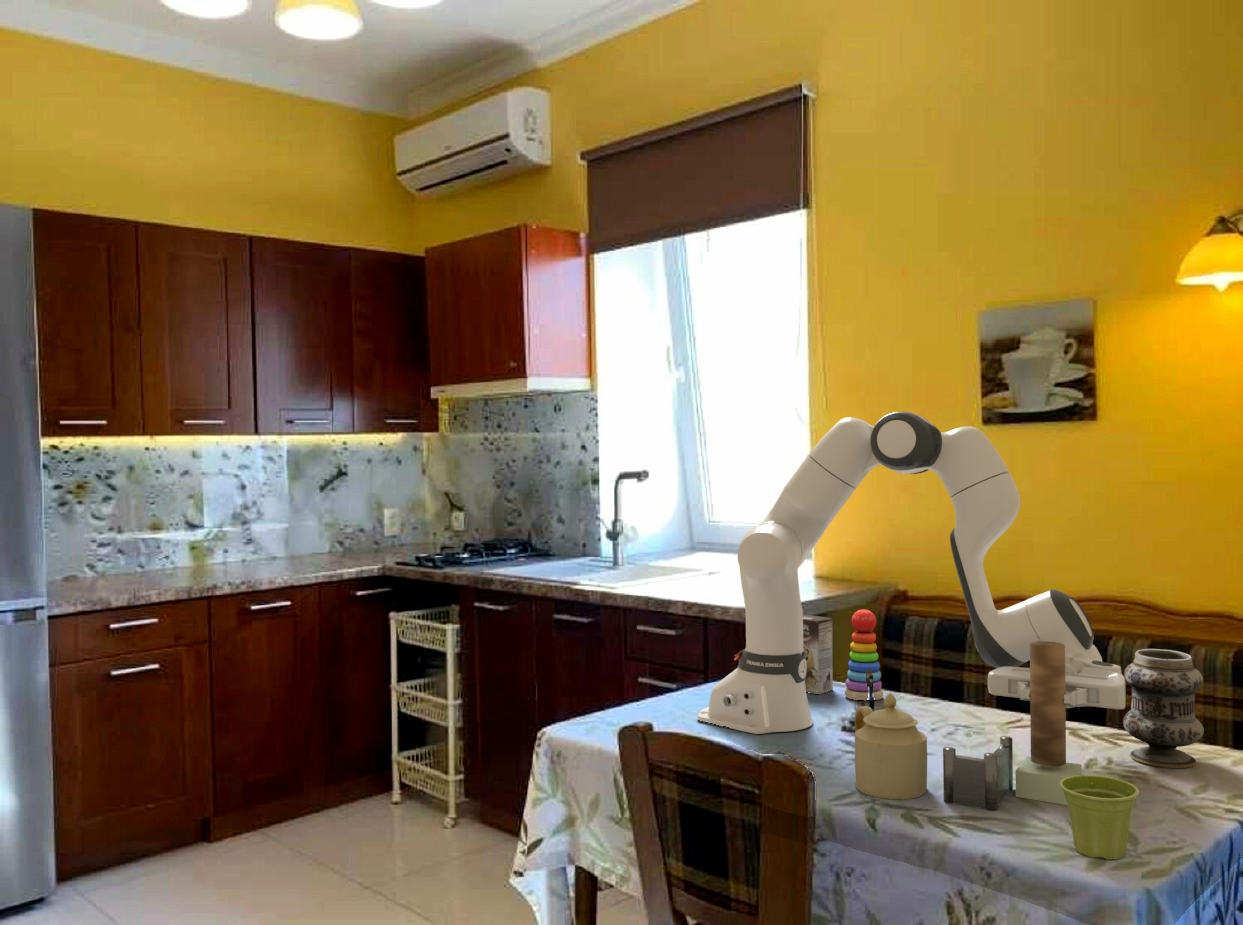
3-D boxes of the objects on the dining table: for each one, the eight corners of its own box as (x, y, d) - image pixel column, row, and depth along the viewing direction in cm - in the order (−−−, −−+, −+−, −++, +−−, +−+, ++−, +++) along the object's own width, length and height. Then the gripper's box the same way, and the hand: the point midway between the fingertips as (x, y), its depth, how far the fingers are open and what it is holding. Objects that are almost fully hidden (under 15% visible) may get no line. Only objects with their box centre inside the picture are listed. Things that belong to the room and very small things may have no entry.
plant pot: (1103, 871, 129) (1102, 802, 129) (1045, 845, 138) (1044, 781, 138) (1156, 858, 133) (1155, 791, 133) (1096, 833, 142) (1095, 770, 142)
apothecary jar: (1204, 775, 165) (1203, 663, 165) (1121, 764, 171) (1120, 657, 171) (1203, 754, 175) (1203, 649, 175) (1125, 745, 181) (1124, 644, 181)
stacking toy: (884, 703, 214) (883, 613, 213) (844, 701, 215) (843, 612, 215) (882, 693, 221) (881, 607, 221) (844, 692, 223) (843, 606, 223)
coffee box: (782, 689, 227) (781, 616, 227) (799, 684, 232) (797, 612, 231) (818, 695, 221) (817, 620, 221) (834, 690, 226) (833, 616, 225)
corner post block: (942, 802, 155) (941, 749, 155) (963, 779, 165) (962, 730, 165) (995, 811, 151) (995, 757, 150) (1014, 788, 160) (1013, 737, 160)
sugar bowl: (821, 782, 165) (819, 689, 165) (861, 767, 172) (860, 677, 172) (901, 805, 154) (900, 705, 154) (941, 788, 161) (940, 692, 161)
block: (1015, 796, 157) (1015, 770, 156) (1027, 781, 163) (1026, 756, 163) (1072, 806, 152) (1072, 779, 152) (1081, 790, 159) (1081, 764, 159)
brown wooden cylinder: (1027, 763, 157) (1026, 645, 157) (1034, 754, 161) (1033, 640, 161) (1062, 768, 154) (1061, 648, 154) (1068, 759, 158) (1067, 643, 158)
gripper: (997, 653, 174) (976, 669, 162) (1131, 666, 163) (1119, 684, 151) (998, 691, 174) (977, 709, 162) (1131, 706, 163) (1119, 727, 151)
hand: (1046, 697), depth 157 cm, fingers closed on brown wooden cylinder, 5 cm apart
